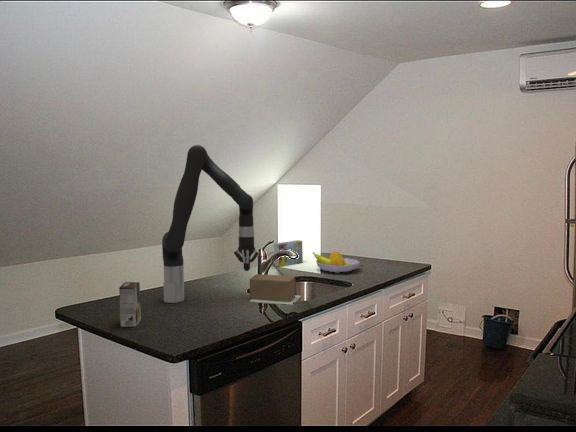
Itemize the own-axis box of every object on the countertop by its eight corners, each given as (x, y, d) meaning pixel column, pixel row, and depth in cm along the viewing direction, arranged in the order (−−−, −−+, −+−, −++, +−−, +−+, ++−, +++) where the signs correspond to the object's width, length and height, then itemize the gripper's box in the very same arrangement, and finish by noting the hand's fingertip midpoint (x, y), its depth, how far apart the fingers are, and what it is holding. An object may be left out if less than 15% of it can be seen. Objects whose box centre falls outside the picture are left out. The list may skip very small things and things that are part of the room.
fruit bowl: (365, 269, 306) (365, 251, 305) (346, 277, 284) (346, 258, 283) (326, 264, 321) (326, 247, 320) (305, 272, 299) (305, 253, 298)
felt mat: (292, 305, 225) (292, 304, 225) (249, 302, 231) (249, 301, 231) (300, 296, 241) (300, 295, 241) (260, 293, 246) (260, 292, 246)
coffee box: (125, 320, 204) (124, 282, 202) (141, 319, 204) (140, 281, 203) (119, 327, 195) (118, 287, 193) (136, 326, 195) (135, 286, 194)
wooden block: (249, 299, 235) (289, 302, 229) (249, 278, 233) (289, 281, 228) (256, 293, 244) (295, 296, 239) (256, 273, 243) (295, 276, 237)
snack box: (297, 261, 332) (297, 239, 331) (302, 263, 328) (303, 240, 326) (273, 266, 318) (273, 243, 316) (279, 267, 314) (279, 244, 312)
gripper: (230, 236, 235) (231, 271, 237) (256, 236, 232) (257, 272, 234) (236, 234, 243) (237, 268, 244) (261, 234, 239) (262, 269, 241)
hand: (246, 270), depth 239 cm, fingers closed
